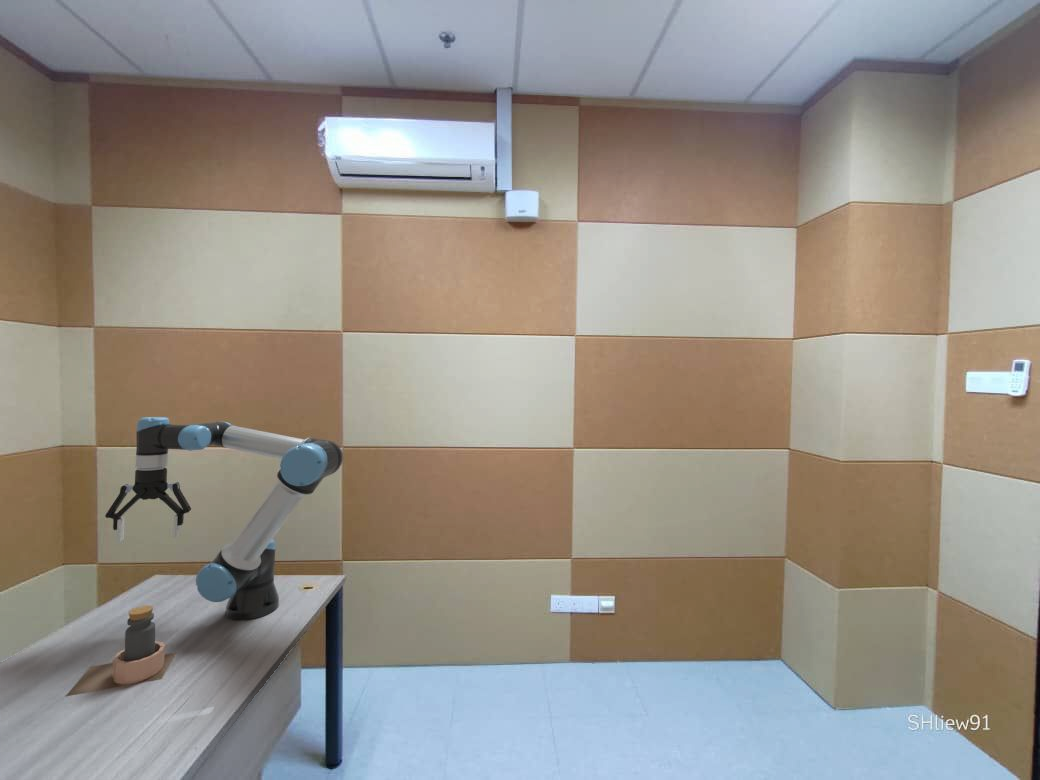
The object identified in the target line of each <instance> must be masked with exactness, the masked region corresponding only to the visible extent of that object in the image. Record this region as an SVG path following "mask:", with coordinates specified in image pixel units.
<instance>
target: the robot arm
mask: <svg viewBox="0 0 1040 780" xmlns="http://www.w3.org/2000/svg"><path fill="white" fill-rule="evenodd" d="M170 423H171V422H170V418H168V417H165V416H164V417H162V416H151V417H150V416H149V417H142V418H139V419H138V421H137V424H136V425H137V426H136V431H135V432H136V453H135V466H134V467H135V468H136V470H134V471H135V472H134V484H133V485H130V484H123V485H122V486H120V488H119V494H118V495H117V497H116V498H115V500H114V501H113V502H112V505H111V506H110V507H109V509H108V510H107V512H106V513H105V515H104V517H105V518H107V519H112V521H113V522H112V523H113V524H112V529H113V531H116V543H120V542H122V541H123V540H124V539H125V538H124V537H125V517H122V516H124V514H125V513H126V512H128V510H129V509H130V508H132V506H134V505H135V504H136V503H137V502H138V501H139V500H143V501H145V500H146V501H147V500H156V499H160V501H162V502H163V503H164V504H166V506H168V507H169V509H171V510H172V511H173V512H174V513H175V515H173V532H172V533H173V536H172V537H173V538H177V537H178V536H179V535H180V526H182V525H183V524H184V515H185V514H188V513H190V511H192V507H191V506H190V504H189V502H188V501H187V499H186V497H185V495H184V494H183V492H182V490H181V486H180V482H173V483H168V481H167V480H168V469H167V466H168V456H169V455H168V454H169V453H168V452H169V450H178V451H179V450H180V451H181V450H183V451H202V450H205V448H207V447H211V446H212V447H213V446H215V447H221V448H226V449H231V450H235V451H236V450H237V451H241V452H244V453H245V452H246V453H251V454H255V455H256V454H257V455H261V456H265V457H272V458H275V459H276V458H277V459H281V460H280V464H279V467H280V469H279V471H278V472H277V473H276V478H277V482H276V483H275V485H273V487H272V489H271V491H270V492H269V493H267V496H266V497H265V498H264V500H263V502H261V504H260V505H259V507H258V508H257V510H256V511H255V512H254V513H253V515H252V516H251V517H250V519H249V520H248V522H247V523H246V524H245V526H244V527H243V528H242V530H241V531H240V532H239V534H238V535H237V536H236V538H235V540H234V541H233V542H229V543H226V544H225V545H224V546H223V547H222V548H221V549H220V551H219V552H218V554H216V556H215V558H214V559H213V560H212V561H211V562H210V563H207V564H205V565H204V566H203V567H202V568H201V569H200V570H199V571H198V572H197V574H196V578H195V586H196V587H197V588H196V589H197V591H198V593H199V594H200V595H201V597H202V598H204V599H205V600H206V601H209V602H212V603H222V602H224V601H226V600H228V601H227V603H226V607H225V616H226V617H227V618H228V619H231V620H234V621H235V620H237V621H243V620H244V621H245V620H252V619H257V618H260V617H264V616H266V615H268V613H269V614H271V613H272V612H274V611H275V610H277V608H278V607H279V605H280V597H279V594H278V590H277V587H276V586H275V566H276V565H275V561H276V559H275V558H276V556H275V555H276V542H275V539H274V537H276V535H277V533H278V532H279V531H280V530H281V528H282V527H283V525H284V524H285V522H286V521H287V520H288V519H289V517H290V516H291V514H292V513H293V511H294V510H295V509H296V507H297V506H298V505H299V504H300V502H301V501H302V500H303V498H304V496H309V495H312V494H313V493H314V491H315V490H316V488H317V487H318V486H319V485H320V483H321V482H322V481H323V479H324V478H326V477H329V476H331V475H333V474H335V473H336V472H337V471H338V470H339V469H340V467H341V466H342V464H343V460H344V454H343V453H344V452H343V451H342V449H341V447H340V446H339V444H337V443H336V442H334V441H332V440H329V439H322V438H315V437H307V438H305V439H303V438H298V437H294V436H293V437H292V436H288V435H284V434H278V433H273V432H270V431H269V432H268V431H261V430H258V429H252V428H247V427H242V426H237V425H233V424H231V423H229V422H227V421H214V422H204V423H193V424H192V423H191V424H170ZM167 489H170V491H172V493H173V495H174V497H175V499H176V500H177V502H178V503H177V502H176V501H175V500H174V499H173V498H171V497H170V496H169V494H168V493H167V492H166V491H167ZM132 491H133V492H134V494H135V495H133V497H132V498H131V499H130V500H129V501H128V502H127V503H126V504H124V506H123V507H122V508H120V510H118V508H119V507H120V505H121V504H122V502H123V500H124V499H125V498H126V497H127V495H128V493H130V492H132ZM117 510H118V511H117ZM116 512H117V513H116ZM273 610H274V611H273ZM270 612H271V613H270ZM263 615H264V616H263Z"/></svg>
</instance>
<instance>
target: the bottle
mask: <svg viewBox="0 0 1040 780" xmlns="http://www.w3.org/2000/svg"><path fill="white" fill-rule="evenodd" d="M153 610H154V607H153V606H152V605H141V606H138V607H135V608H132V609H131V610H129V612H128V616H129V618H127V620H126V622H127V625H128V626H129V627H128V628H126V629H125V631H124V649H125V656H124V661H126V662H129V661H135V660H140V659H143V658H146V657H149V656H151V655H152V654H154V653H155V641H156V623H155V622H154V621H153V620H154V618H155V614H154V612H153Z"/></svg>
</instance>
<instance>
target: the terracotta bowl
mask: <svg viewBox="0 0 1040 780" xmlns="http://www.w3.org/2000/svg"><path fill="white" fill-rule="evenodd" d="M165 652H166V645H165V644H164V643H163V642H162V641H156V640H155V653H154V654H152V655H151V656H149V657H146V658H143V659H140V660H135V661H129V662H126V661H124V656H125V648H124V649H123V650H121V651H118V652H117V653H116V654H115V656H114V657H112V663H113V675H112V677H113V681H114V683H116V684H120V685H126V686H128V685H127V684H131V685H134V684H133V683H137V682H141V681H144V680H146V679H148V678H151V677H152V676H154V675H156V674H157V673H159V672H160V671H161V670H162V668H163V664H164V658H165V654H166V653H165ZM137 684H138V683H137Z"/></svg>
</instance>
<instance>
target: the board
mask: <svg viewBox="0 0 1040 780" xmlns="http://www.w3.org/2000/svg"><path fill="white" fill-rule="evenodd" d="M176 655H177V652H172V653H165V658H164V664H163V668H162V670H161V671H160V672H159V673H157V674H156V675H154V676H152V677H151V678H148V679H146V680H144V681H141V682H137V683H133V684H127V685H120V684H116V683H114V681H113V677H112V675H113V662H110V663H105V664H98V665H93V666H90V667H89V668H88V669H87V670H86V672H84V673H83V675H82V676H81V677H80V678H79V679H78V681H77V682H76V683H75V684H74V686H72V688H71V689H70V690H69V691H68V692H67V694H65V697H69V696H71V697H72V696H74V695H81V694H82V695H83V694H86V693H92V692H93V693H94V692H98V691H103V690H108V689H113V688H120V687H125V686H131V685H136V684H141V683H146V682H153V681H157V680H162V679H163V678H164V676H165V673H166V672H167V671H168V669H169V667H170V665H171V663H172V662H173V660H174V658H175V656H176Z"/></svg>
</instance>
